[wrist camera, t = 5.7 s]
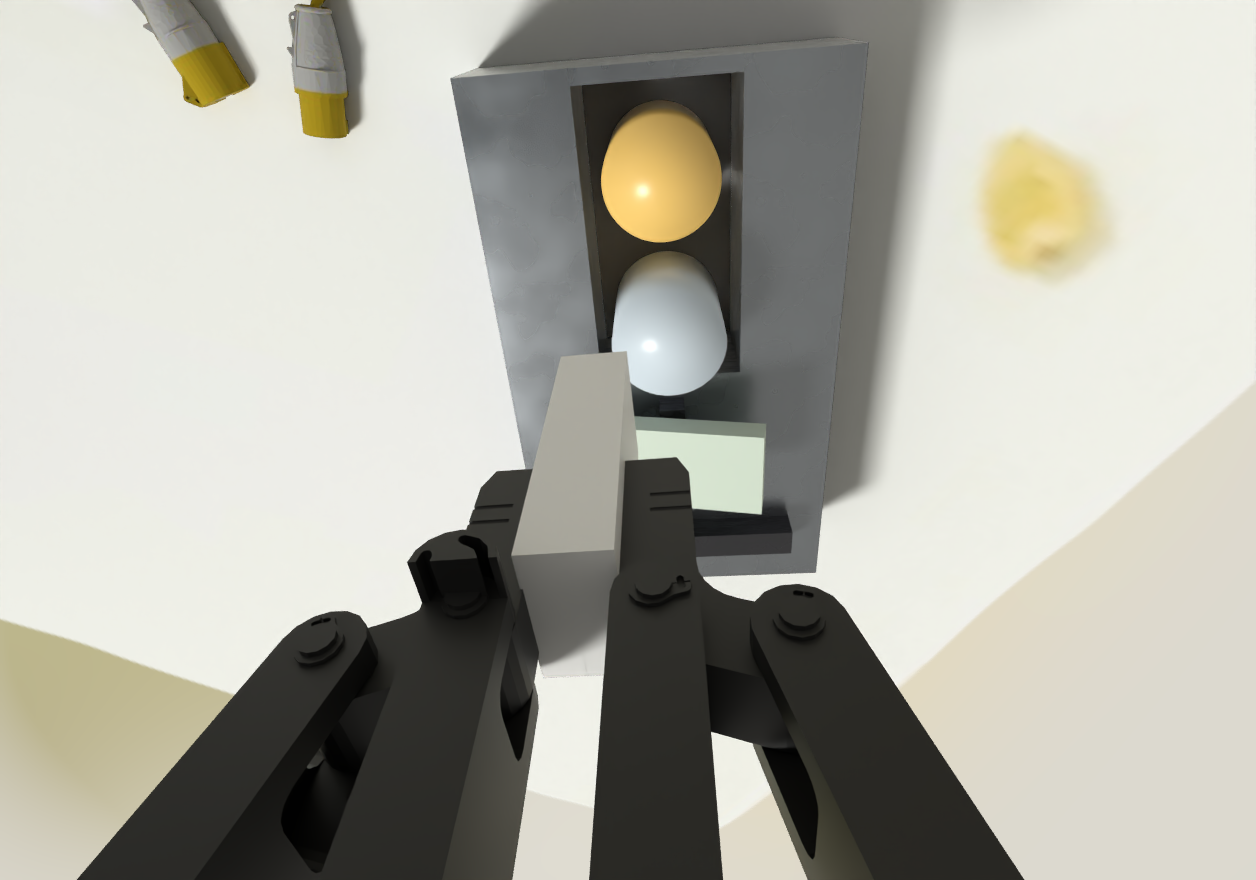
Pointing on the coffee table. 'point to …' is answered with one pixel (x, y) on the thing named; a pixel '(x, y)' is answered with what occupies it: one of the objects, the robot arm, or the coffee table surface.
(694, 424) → the panel
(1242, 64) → the coffee table surface
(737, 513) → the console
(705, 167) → the amber button
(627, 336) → the blue-grey button
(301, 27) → the extension cord
